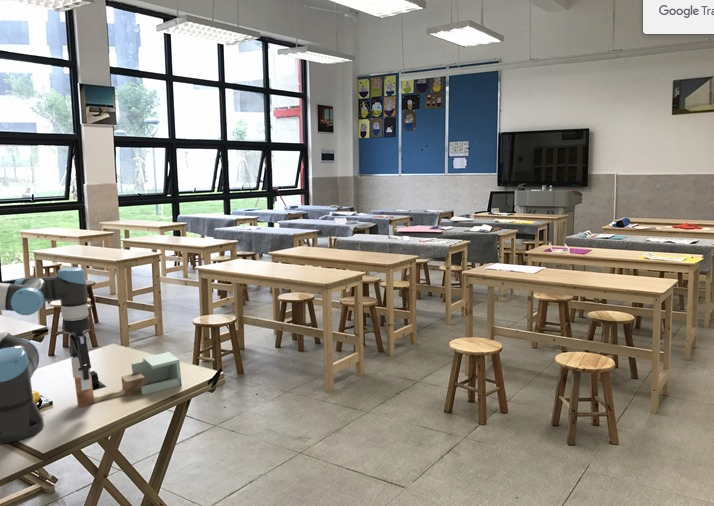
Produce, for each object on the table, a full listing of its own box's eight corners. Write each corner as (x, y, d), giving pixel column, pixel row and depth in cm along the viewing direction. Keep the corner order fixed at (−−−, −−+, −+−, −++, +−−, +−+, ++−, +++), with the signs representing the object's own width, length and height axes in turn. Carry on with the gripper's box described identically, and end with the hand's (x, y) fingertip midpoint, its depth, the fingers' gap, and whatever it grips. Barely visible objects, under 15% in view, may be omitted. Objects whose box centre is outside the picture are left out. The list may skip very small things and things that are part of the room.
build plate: (110, 389, 204) (108, 375, 203) (86, 395, 199) (84, 381, 198) (97, 378, 214) (96, 365, 213) (74, 384, 209) (73, 371, 208)
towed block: (79, 408, 187) (76, 381, 186) (76, 402, 192) (72, 375, 190) (146, 391, 199) (143, 365, 197) (141, 386, 203) (138, 360, 202)
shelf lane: (142, 395, 196) (139, 368, 194) (133, 385, 204) (131, 360, 203) (181, 384, 203) (179, 359, 202) (171, 376, 211) (169, 351, 210)
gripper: (97, 324, 178) (103, 391, 182) (80, 307, 198) (86, 369, 202) (70, 328, 174) (77, 397, 177) (55, 311, 194) (62, 374, 198)
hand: (82, 382), depth 190 cm, fingers open, 13 cm apart
